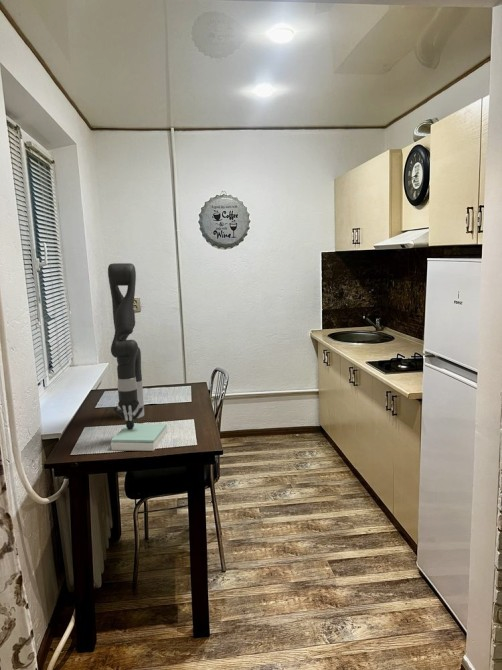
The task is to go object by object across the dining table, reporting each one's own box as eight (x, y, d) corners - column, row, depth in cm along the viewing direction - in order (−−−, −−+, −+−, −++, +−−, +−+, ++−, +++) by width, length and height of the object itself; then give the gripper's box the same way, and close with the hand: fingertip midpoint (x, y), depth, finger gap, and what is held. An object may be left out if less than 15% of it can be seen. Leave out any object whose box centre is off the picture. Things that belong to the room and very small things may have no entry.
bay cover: (127, 425, 207) (127, 423, 207) (166, 425, 205) (166, 424, 205) (111, 441, 189) (111, 439, 189) (153, 442, 188) (153, 440, 187)
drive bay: (128, 432, 208) (128, 425, 208) (167, 432, 206) (167, 426, 206) (111, 450, 190) (111, 442, 189) (153, 450, 188) (153, 443, 187)
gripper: (146, 385, 201) (148, 425, 204) (115, 385, 203) (118, 425, 205) (140, 390, 194) (142, 432, 196) (108, 390, 195) (111, 431, 198)
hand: (130, 428), depth 201 cm, fingers closed
